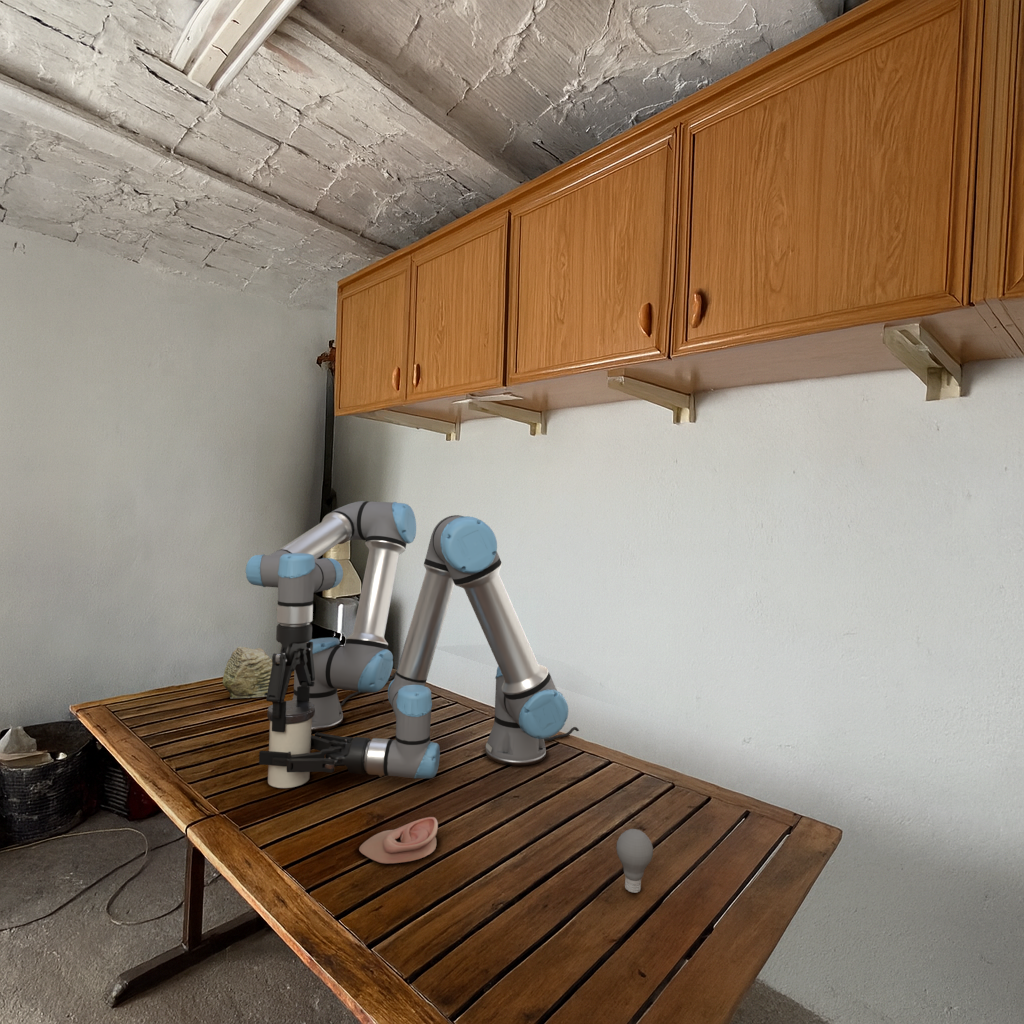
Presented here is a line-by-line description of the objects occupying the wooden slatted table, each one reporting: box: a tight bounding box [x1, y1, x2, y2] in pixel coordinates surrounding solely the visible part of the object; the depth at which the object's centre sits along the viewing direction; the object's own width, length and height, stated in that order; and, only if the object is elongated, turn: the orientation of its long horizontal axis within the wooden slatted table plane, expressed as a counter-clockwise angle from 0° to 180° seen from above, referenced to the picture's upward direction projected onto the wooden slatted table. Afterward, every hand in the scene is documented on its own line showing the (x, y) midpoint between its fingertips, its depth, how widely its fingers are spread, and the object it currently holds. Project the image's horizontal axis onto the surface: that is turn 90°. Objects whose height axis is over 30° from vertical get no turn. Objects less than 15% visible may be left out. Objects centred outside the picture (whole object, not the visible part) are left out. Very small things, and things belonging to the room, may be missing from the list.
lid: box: [266, 699, 315, 724], centre depth 141 cm, size 10×10×2 cm
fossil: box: [222, 646, 272, 699], centre depth 198 cm, size 9×18×15 cm, turn 132°
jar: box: [267, 718, 312, 789], centre depth 141 cm, size 9×9×16 cm
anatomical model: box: [358, 816, 439, 864], centre depth 116 cm, size 13×4×12 cm
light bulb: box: [615, 828, 654, 894], centre depth 106 cm, size 6×6×10 cm
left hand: (290, 722), depth 141 cm, fingers closed on lid, 10 cm apart
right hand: (270, 748), depth 142 cm, fingers closed on jar, 9 cm apart
